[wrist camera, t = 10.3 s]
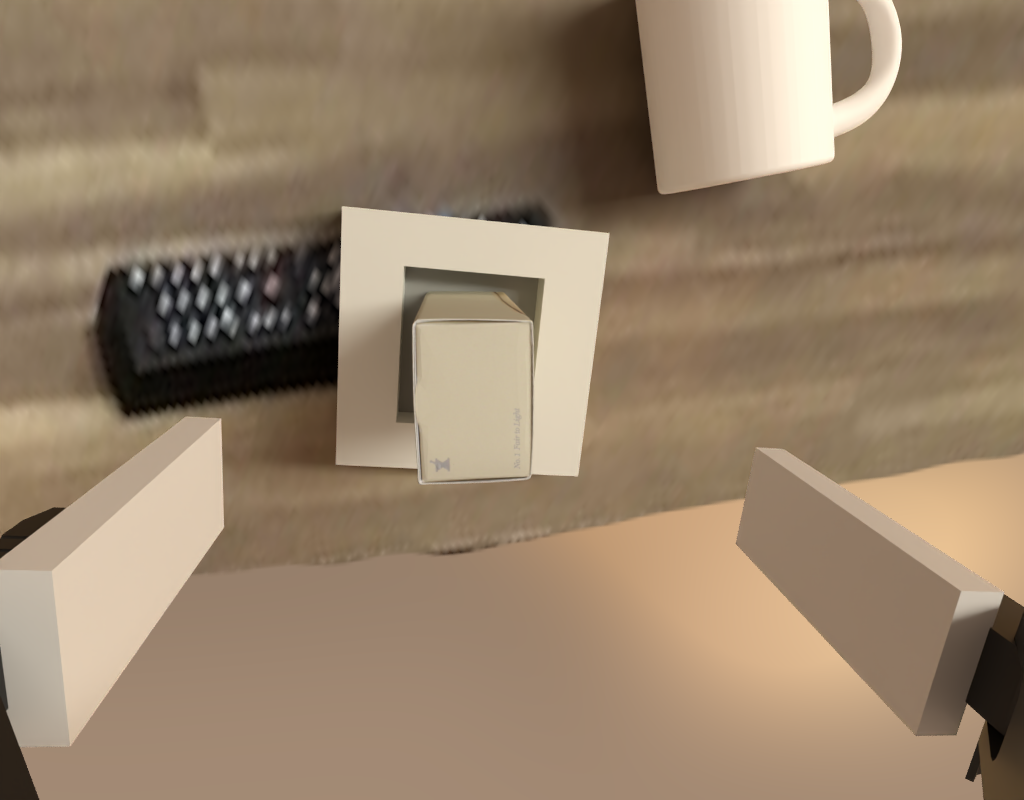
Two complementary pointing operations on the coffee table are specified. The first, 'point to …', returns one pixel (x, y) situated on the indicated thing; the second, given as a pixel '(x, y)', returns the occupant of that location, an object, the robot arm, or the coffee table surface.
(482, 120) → the coffee table surface
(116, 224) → the coffee table surface
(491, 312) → the skincare box
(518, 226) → the socket block
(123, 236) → the coffee table surface
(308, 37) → the coffee table surface
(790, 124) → the mug
